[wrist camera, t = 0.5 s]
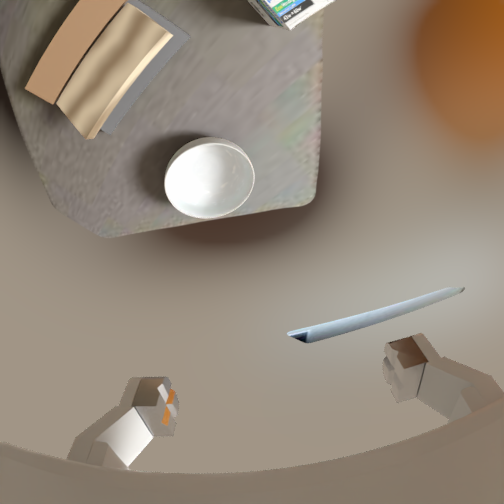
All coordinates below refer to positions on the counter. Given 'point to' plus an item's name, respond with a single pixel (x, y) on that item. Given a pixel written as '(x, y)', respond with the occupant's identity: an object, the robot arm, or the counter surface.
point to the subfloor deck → (79, 44)
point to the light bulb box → (287, 11)
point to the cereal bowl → (208, 178)
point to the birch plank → (111, 68)
